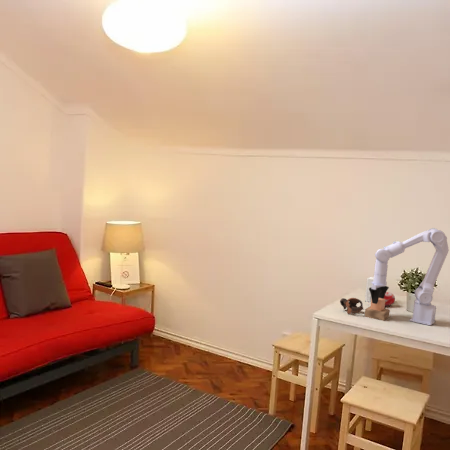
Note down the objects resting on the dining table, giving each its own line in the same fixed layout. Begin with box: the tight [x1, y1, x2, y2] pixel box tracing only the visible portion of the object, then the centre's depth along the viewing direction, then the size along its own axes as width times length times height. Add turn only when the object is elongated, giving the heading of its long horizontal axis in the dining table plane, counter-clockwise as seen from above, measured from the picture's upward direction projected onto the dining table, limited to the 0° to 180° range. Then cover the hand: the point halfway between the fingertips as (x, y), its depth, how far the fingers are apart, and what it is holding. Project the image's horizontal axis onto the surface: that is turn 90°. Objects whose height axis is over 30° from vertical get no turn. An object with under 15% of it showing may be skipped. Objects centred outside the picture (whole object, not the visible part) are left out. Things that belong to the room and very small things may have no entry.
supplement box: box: [364, 276, 374, 303], centre depth 257 cm, size 7×7×13 cm
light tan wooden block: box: [364, 305, 391, 322], centre depth 227 cm, size 9×9×4 cm
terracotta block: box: [369, 298, 386, 311], centre depth 227 cm, size 5×5×5 cm
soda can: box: [369, 291, 396, 307], centre depth 249 cm, size 7×7×12 cm
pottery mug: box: [339, 297, 365, 315], centre depth 232 cm, size 12×10×8 cm
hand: (377, 302), depth 228 cm, fingers open, 7 cm apart
